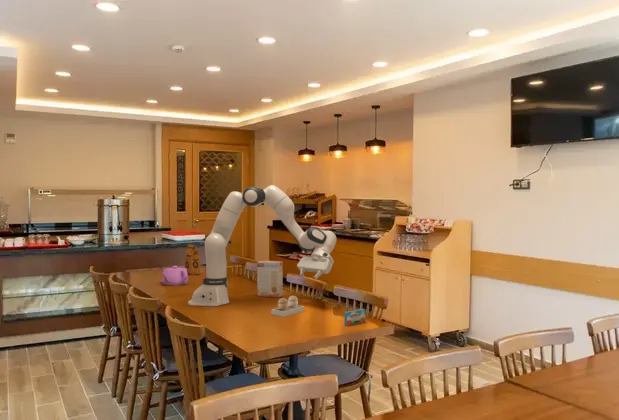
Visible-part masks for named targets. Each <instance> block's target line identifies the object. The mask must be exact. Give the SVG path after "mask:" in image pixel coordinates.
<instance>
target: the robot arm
mask: <svg viewBox="0 0 619 420" xmlns="http://www.w3.org/2000/svg"><path fill="white" fill-rule="evenodd" d="M264 203H265V204H266V205H268V206H269V207H270V208H271V209H272V211H273V212H275V214H276V215H277V217H279V219H280V221H281V222H282V224H283V225H284V227H285V228H286V229H287V230H288V232H289V234H291V235H292V236H293V238H294V239H295V241H296V243H297V246H298V247H299V248H300V250H302V251H304V252H311V251H312V253H311V255H307V254H306V255H305V256H302V258H300V260H299V261H298V263H297V264H296V267H297V269H298V270H299V271H300V273H299V277H301V278H303V277H304V276H305V274H304V273H305V272H311V273H316V274H314V275H313V279H314V280H317V279H318V278H319V277H320V276H322V274H325V275H327V274H330V272H331V270H332V267H333V265H334V263H335V260H334V259H333V257H332V255H330V254H331V253H332V252H333V250H334V248H335V246H336V243H337V240H338V239H337V236H336V234H335V233H334V232H333V231H331V230H324V229H320V228H319V227H317V226H311V227H309V228H308V229H306V230H305V231H304V230H303V229H302V227H300V225H299V224H298V223H297V221H296V219H295V204H294V202H293V201H292V198H290V197H289V196H288V195H287V194H286V193H285V192H284V191H283V190H282V189H280V188H279V187H278V186H276V185H274V184H271V185H268V186H267V187H265V188H264V189H263V188H260V187H258V186H248V187H246V188H245V189H244V190H243V192H240V191H231V192H230V193H229V194H228V195H227V197H226V198H225V200H224V202H223V204H222V205H221V208H220V209H219V211H218V214H217V216H216V218H215V221H214V224H213V227H212V229H211V231H210V234H208V235H207V237H206V238H205V239H204V254H205V263H206V264H205V265H206V270H205V272H206V274H205V276H203V277H202V284H201V285H200V286H199V287H198V288H196V289H195V290H194V291H193V292H192V296H191V299H189V300H188V301H187V305H188V306H196V307H197V306H199V307H200V306H203V307H204V306H205V307H218V306H221V305H226V304H229V303H230V299H229V298H230V297H229V295H228V281H229V279H228V277H227V269H228V268H227V255H226V254H227V253H226V248H227V246H228V244H229V241H230V239H231V237H232V235H233V232H234V229H235V227H236V225H237V222H238V220H239V219H240V216H241V214H242V212H243V210H244V208H245V207H246V206H249V207H252V208H256V207H260V206H261V205H262V204H264Z"/></svg>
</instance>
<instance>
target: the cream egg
mask: <svg viewBox="0 0 619 420" xmlns="http://www.w3.org/2000/svg"><path fill="white" fill-rule="evenodd" d="M287 301H288V308H292V309H295V308H298V305H299V300H298V297H297V296H296V295H290V296H288V299H287Z"/></svg>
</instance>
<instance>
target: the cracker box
mask: <svg viewBox="0 0 619 420" xmlns="http://www.w3.org/2000/svg"><path fill="white" fill-rule="evenodd" d="M256 263H257V266H256V267H257V268H256V269H257V274H256V275H257V282H256V283H257V286H256V287H257V297H264V298H277V299H280V298H283V295H284V294H283V289H284V288H283V287H284V285H283V279H284V278H283V274H284V273H283V272H284V271H283V261H281V260H280V261H278V260H259V261H257V262H256Z"/></svg>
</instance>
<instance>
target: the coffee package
mask: <svg viewBox="0 0 619 420" xmlns="http://www.w3.org/2000/svg"><path fill="white" fill-rule="evenodd" d="M187 247H188V248H187V250H186V252H185V254H184V268H187V274H188V275H190V276H196V275H195V274H199V275H201V257H200V254H199V251H198V248H197V245H195V244H188V245H187Z"/></svg>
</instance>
